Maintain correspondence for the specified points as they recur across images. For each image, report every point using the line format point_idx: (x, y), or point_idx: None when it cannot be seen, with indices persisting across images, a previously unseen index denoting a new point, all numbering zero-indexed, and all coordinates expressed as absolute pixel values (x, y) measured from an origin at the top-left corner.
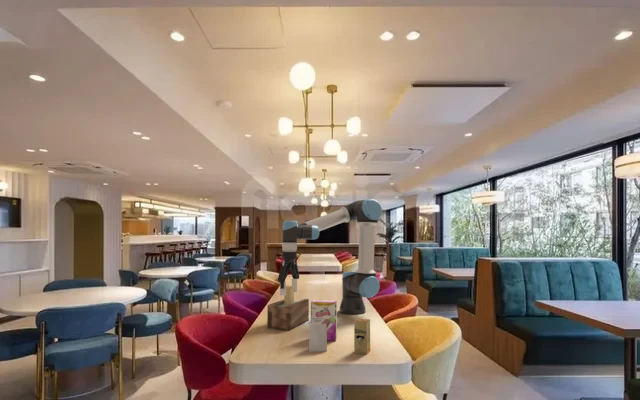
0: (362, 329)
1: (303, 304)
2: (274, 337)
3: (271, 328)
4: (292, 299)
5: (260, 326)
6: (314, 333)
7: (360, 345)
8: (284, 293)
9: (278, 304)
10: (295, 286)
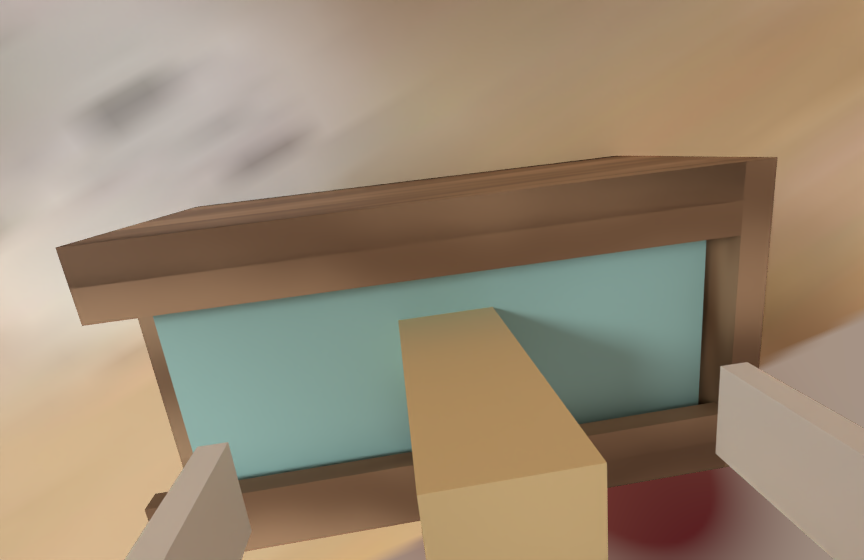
0: None
1: (303, 211)
2: (829, 153)
3: None
4: (447, 341)
5: None
6: None
7: None
8: (776, 389)
9: (583, 425)
10: (189, 550)
